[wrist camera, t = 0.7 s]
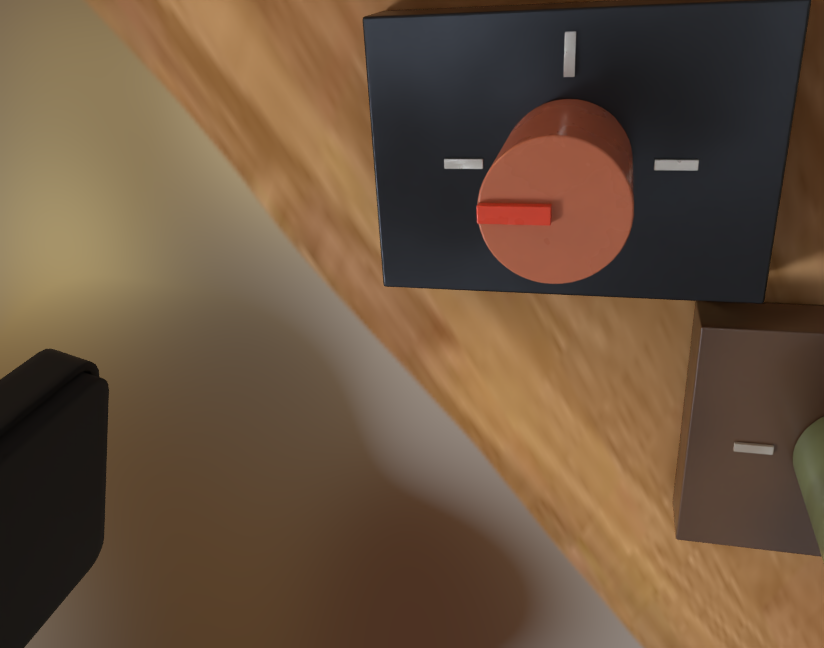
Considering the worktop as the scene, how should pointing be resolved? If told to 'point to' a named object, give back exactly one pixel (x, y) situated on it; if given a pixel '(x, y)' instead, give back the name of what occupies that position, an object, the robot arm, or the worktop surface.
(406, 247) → the black dial base plate
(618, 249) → the dial knob
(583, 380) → the worktop surface
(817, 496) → the green rotary knob near
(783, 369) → the brown dial base plate
